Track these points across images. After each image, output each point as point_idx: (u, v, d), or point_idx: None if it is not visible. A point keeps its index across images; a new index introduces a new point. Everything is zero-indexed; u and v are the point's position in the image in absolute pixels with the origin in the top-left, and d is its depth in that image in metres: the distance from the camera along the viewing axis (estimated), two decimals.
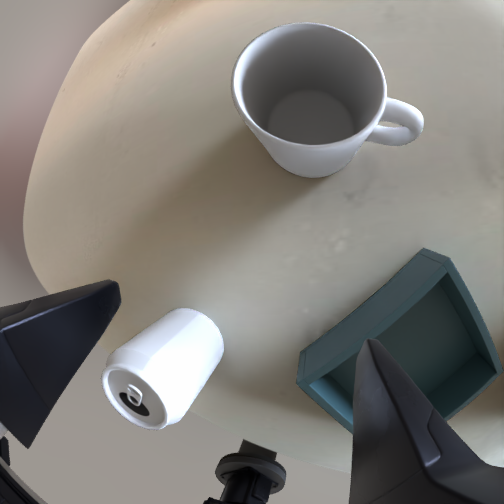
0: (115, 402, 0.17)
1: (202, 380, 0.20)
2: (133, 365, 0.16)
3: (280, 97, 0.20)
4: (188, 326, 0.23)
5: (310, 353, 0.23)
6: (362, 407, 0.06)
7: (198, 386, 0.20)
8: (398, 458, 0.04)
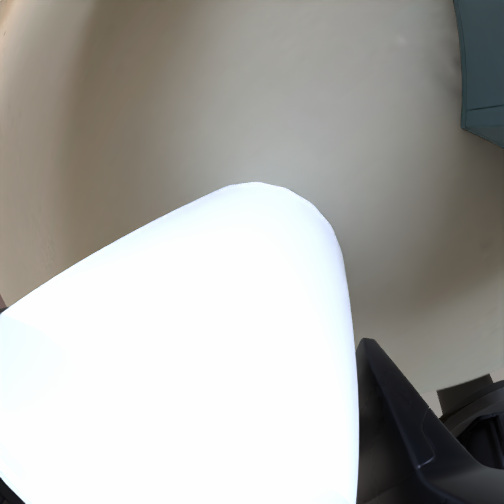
0: None
1: (339, 312, 0.05)
2: None
3: None
4: (198, 200, 0.08)
5: (480, 95, 0.06)
6: None
7: (341, 342, 0.04)
8: (392, 458, 0.04)
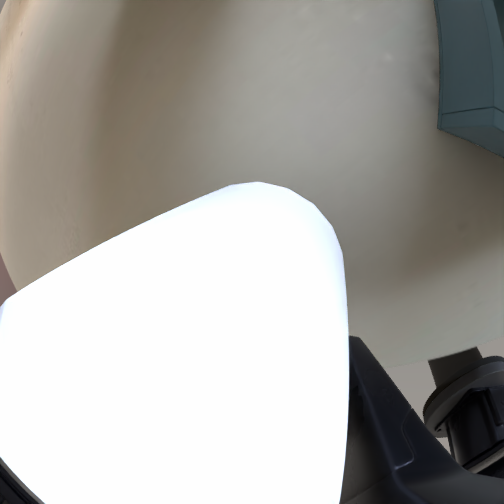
0: None
1: (332, 308, 0.05)
2: None
3: None
4: (198, 199, 0.08)
5: (452, 101, 0.08)
6: None
7: (331, 337, 0.04)
8: (370, 459, 0.04)
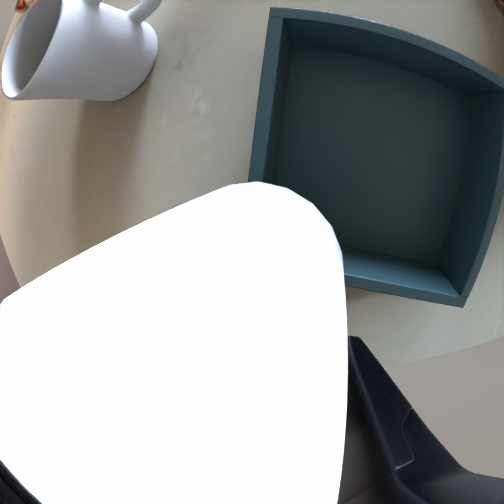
0: None
1: (330, 308, 0.05)
2: None
3: None
4: (197, 198, 0.08)
5: None
6: None
7: (329, 337, 0.04)
8: (370, 459, 0.04)
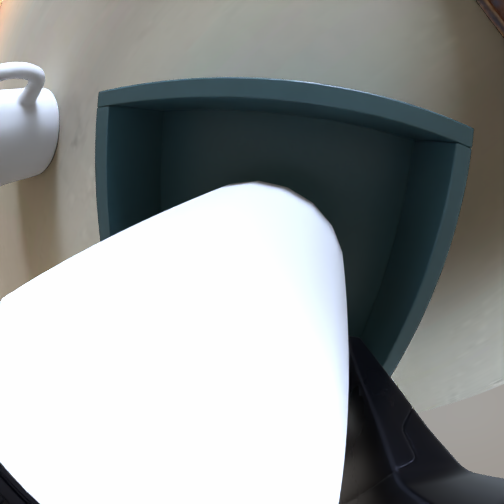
0: None
1: (331, 307, 0.05)
2: None
3: None
4: (197, 197, 0.08)
5: None
6: None
7: (331, 336, 0.04)
8: (371, 459, 0.04)
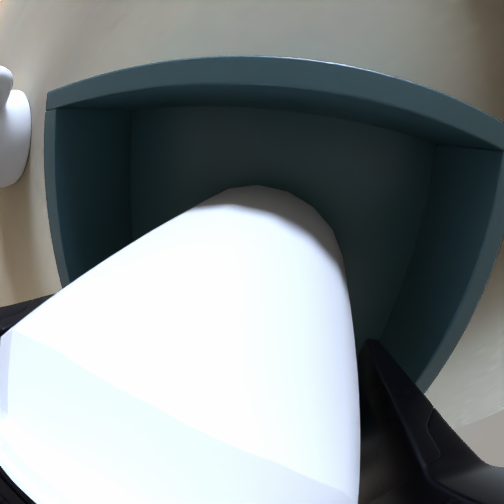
0: None
1: (341, 318, 0.05)
2: None
3: None
4: (200, 205, 0.08)
5: None
6: (362, 407, 0.06)
7: (343, 348, 0.04)
8: (397, 458, 0.04)
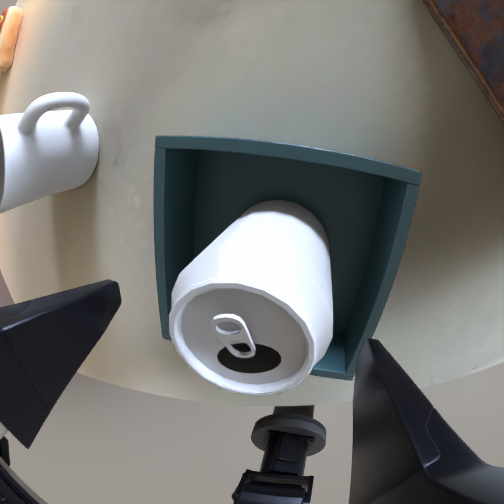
0: (223, 380, 0.12)
1: (322, 256, 0.13)
2: (201, 279, 0.10)
3: None
4: (256, 211, 0.16)
5: None
6: (362, 407, 0.06)
7: (323, 264, 0.13)
8: (398, 458, 0.04)
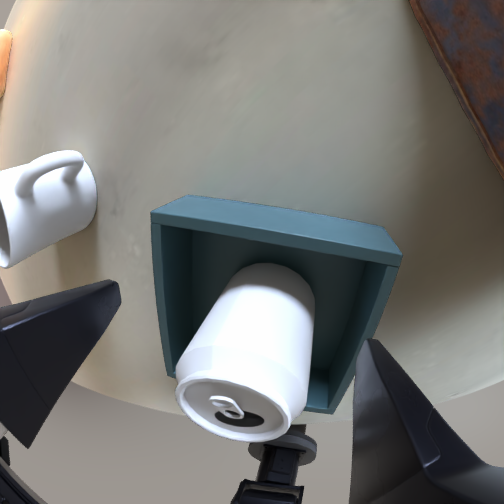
0: (219, 429, 0.14)
1: (303, 333, 0.15)
2: (199, 369, 0.12)
3: None
4: (247, 283, 0.18)
5: None
6: (362, 407, 0.06)
7: (302, 343, 0.14)
8: (398, 458, 0.04)
